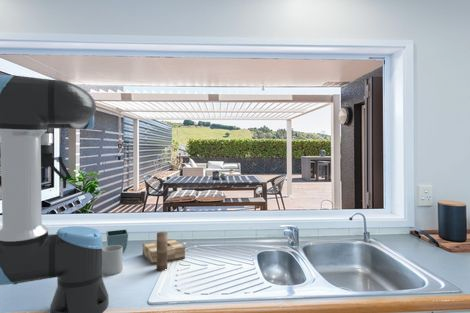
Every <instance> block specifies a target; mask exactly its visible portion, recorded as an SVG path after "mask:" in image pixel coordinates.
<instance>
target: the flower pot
mask: <svg viewBox="0 0 470 313" xmlns="http://www.w3.org/2000/svg"><path fill="white" fill-rule="evenodd" d="M105 235H106V242H107V246H112V245H119V246H122V247H123V253H124V252H126V249H127V246H128V240H129V232H128V230H127V229H118V230H108V231H106V232H105Z"/></svg>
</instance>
